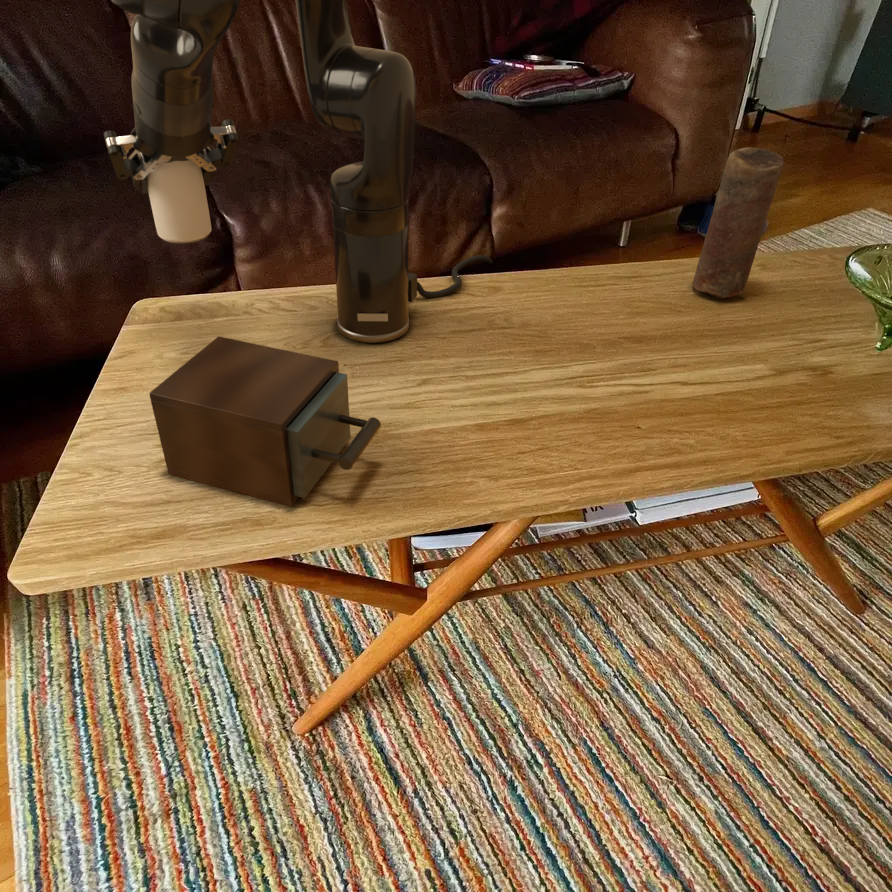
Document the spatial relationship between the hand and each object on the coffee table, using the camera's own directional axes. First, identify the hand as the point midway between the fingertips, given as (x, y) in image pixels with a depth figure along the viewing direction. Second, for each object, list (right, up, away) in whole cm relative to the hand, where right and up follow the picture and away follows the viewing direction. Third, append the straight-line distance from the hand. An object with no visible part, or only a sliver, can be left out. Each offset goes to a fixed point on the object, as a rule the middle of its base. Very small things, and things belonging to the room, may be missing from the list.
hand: (173, 182), depth 91 cm
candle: (+73, -9, +22) cm, 77 cm away
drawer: (+17, -33, -15) cm, 40 cm away
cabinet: (+14, -33, -13) cm, 38 cm away
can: (+1, -6, +3) cm, 6 cm away
